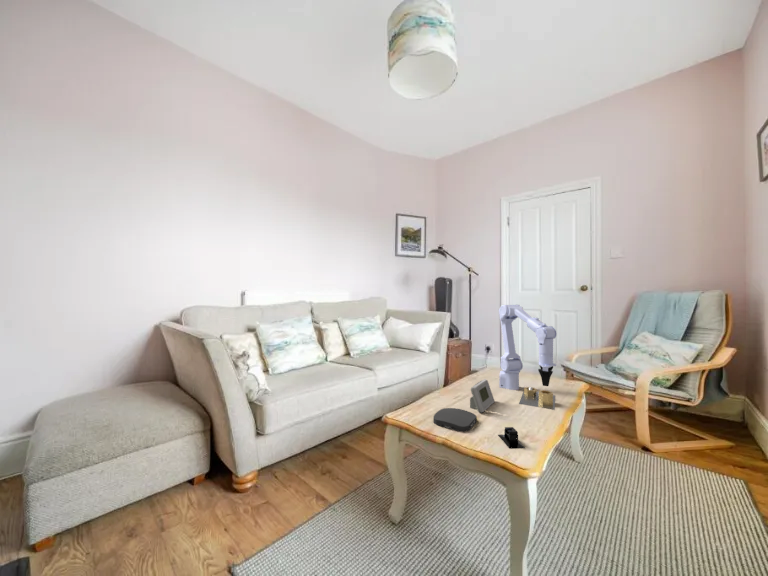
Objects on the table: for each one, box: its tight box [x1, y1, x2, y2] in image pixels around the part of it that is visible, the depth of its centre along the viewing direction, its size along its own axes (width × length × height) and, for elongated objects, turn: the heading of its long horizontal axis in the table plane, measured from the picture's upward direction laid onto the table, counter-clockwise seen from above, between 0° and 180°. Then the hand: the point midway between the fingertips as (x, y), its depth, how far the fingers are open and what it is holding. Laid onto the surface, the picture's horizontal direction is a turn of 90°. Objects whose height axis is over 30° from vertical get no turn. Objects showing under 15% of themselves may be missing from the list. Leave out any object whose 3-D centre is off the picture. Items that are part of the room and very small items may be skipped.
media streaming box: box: [433, 407, 478, 433], centre depth 120 cm, size 15×15×3 cm
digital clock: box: [469, 378, 495, 414], centre depth 135 cm, size 16×9×11 cm, turn 131°
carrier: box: [518, 386, 556, 411], centre depth 142 cm, size 14×20×4 cm
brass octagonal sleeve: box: [538, 389, 554, 406], centre depth 137 cm, size 6×6×5 cm
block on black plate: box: [497, 426, 526, 450], centre depth 105 cm, size 12×7×5 cm, turn 2°
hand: (545, 383), depth 137 cm, fingers open, 7 cm apart
